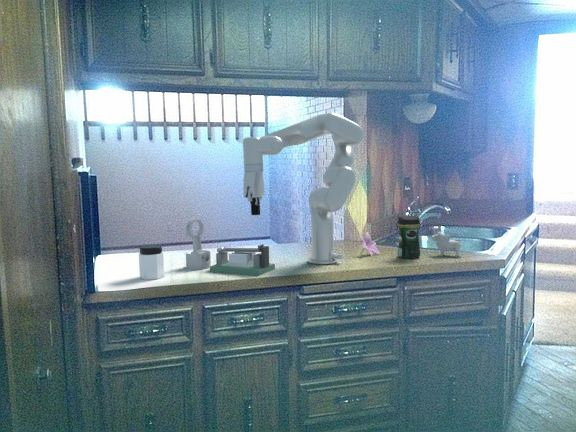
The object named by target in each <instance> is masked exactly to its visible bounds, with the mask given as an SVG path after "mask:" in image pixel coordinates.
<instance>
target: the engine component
mask: <svg viewBox="0 0 576 432" xmlns="http://www.w3.org/2000/svg"><path fill="white" fill-rule="evenodd" d="M195 222H196V223H197V224H198V226H199V229H198V232H197V233H196V234H194V233H193V231H192V226H193V224H194V223H195ZM204 232H206V227H205V223H204V222H203V221H202V219H200V218H196V217H195V218H191V219H190V220H188V222H187V224H186V227H185V233H186V236H189V237H190V238H191V240H192V248H193V251H190V253H187V252H185V267H186V270H191V271H201V270H202V271H203V270H207V269H210V266H212V264H211V263H212V261H211V256H212V255H211V251H210V250H207V249H203V248H202V238H201V237H202V235H203V233H204Z"/></svg>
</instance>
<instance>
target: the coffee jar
mask: <svg viewBox="0 0 576 432" xmlns="http://www.w3.org/2000/svg"><path fill="white" fill-rule="evenodd" d="M396 225H397V228H398V244H397V245H398V246H397V256H398V258H400V259H417V258H420V257H421V247H420V246H421V245H420V239H419V234H420V233H419V229H420V227H421V221H420V217H419V216H417V215H400V216H398V218H397V224H396Z"/></svg>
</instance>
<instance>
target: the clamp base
mask: <svg viewBox="0 0 576 432" xmlns="http://www.w3.org/2000/svg"><path fill="white" fill-rule="evenodd" d="M215 262H216V264H213V265H211V266H210V268H209V272H212V273H221V272H222V273H223V274H224V273H225V274H235V275H244V276H246V275H247V276H258V277H259V276H262V275H263V274H264V275H265V274H266V273H268V272H270V271H273V270H275V269H276V263H270V246H269V245H264V247H261V252H231V253H228V252H220V253H218V252H217V253H215ZM222 273H221V274H222Z"/></svg>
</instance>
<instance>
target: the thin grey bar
mask: <svg viewBox="0 0 576 432" xmlns="http://www.w3.org/2000/svg"><path fill="white" fill-rule="evenodd" d="M264 246H265V244H259V245H257V247H226V246H221V247H218V248H217V249H216V252H217V253H220V252H230V253H235V252H256V253H261V247H264Z"/></svg>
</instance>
